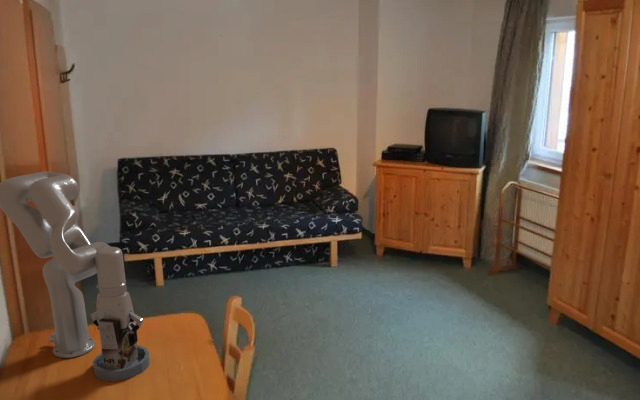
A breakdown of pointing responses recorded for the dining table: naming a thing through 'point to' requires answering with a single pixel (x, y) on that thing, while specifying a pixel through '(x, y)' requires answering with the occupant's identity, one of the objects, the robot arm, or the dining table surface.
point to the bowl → (125, 373)
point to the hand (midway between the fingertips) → (119, 342)
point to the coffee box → (116, 345)
